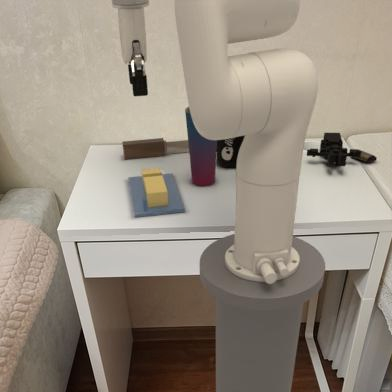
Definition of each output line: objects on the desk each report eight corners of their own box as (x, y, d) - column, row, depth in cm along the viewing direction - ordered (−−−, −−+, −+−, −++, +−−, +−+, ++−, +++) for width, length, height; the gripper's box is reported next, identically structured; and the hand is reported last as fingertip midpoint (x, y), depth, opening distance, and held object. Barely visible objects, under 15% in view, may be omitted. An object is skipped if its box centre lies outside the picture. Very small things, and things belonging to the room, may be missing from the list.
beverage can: (213, 167, 116) (212, 112, 108) (221, 157, 120) (221, 103, 112) (240, 170, 114) (242, 114, 106) (247, 159, 119) (249, 105, 111)
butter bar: (168, 205, 100) (167, 191, 98) (148, 207, 99) (147, 193, 97) (163, 189, 106) (162, 175, 104) (144, 190, 105) (143, 177, 103)
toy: (310, 154, 108) (306, 128, 118) (307, 175, 111) (304, 148, 122) (367, 155, 106) (358, 129, 117) (362, 177, 110) (354, 149, 120)
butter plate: (184, 212, 99) (184, 208, 99) (134, 217, 98) (134, 213, 98) (172, 176, 112) (172, 172, 112) (128, 180, 111) (127, 177, 111)
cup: (223, 177, 111) (224, 105, 101) (211, 189, 106) (210, 115, 96) (196, 173, 113) (193, 102, 103) (182, 185, 109) (179, 112, 99)
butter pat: (162, 186, 107) (161, 172, 105) (144, 188, 106) (142, 174, 104) (161, 181, 109) (160, 167, 107) (143, 183, 108) (141, 169, 106)
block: (366, 165, 114) (367, 157, 113) (347, 157, 118) (349, 149, 117) (377, 161, 115) (379, 153, 114) (359, 153, 119) (360, 146, 118)
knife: (123, 155, 123) (122, 141, 120) (199, 148, 125) (199, 134, 122) (124, 159, 121) (122, 144, 118) (201, 152, 123) (201, 137, 120)
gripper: (109, -8, 106) (119, 80, 118) (113, 4, 94) (124, 102, 105) (144, -10, 107) (151, 78, 119) (153, 2, 95) (159, 99, 106)
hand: (138, 89), depth 112 cm, fingers open, 9 cm apart
